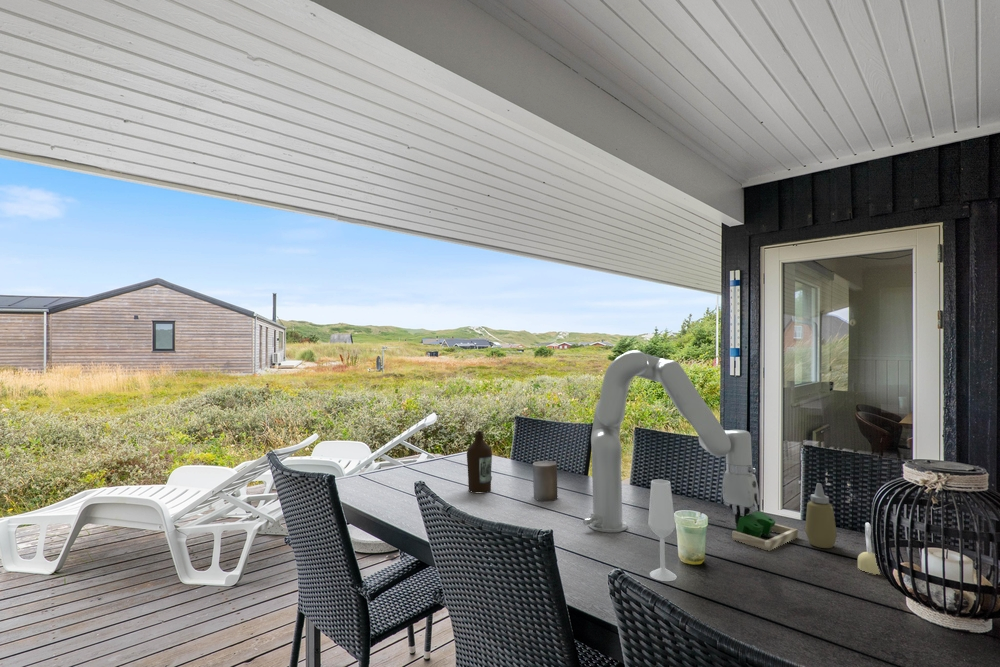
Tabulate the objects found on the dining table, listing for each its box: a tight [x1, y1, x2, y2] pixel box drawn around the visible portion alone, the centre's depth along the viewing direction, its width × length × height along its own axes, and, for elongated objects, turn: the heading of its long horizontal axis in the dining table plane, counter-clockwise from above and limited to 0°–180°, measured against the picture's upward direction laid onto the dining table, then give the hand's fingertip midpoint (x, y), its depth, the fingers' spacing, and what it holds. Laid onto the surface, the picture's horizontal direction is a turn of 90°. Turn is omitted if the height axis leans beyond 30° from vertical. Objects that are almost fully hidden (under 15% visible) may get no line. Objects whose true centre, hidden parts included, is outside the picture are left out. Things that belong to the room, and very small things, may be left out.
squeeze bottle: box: [804, 482, 838, 549], centre depth 150 cm, size 8×8×18 cm
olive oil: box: [466, 429, 493, 493], centre depth 214 cm, size 11×11×25 cm
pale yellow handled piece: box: [857, 522, 881, 575], centre depth 133 cm, size 6×5×12 cm
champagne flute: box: [647, 479, 677, 582], centre depth 131 cm, size 7×7×24 cm
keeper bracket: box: [731, 523, 799, 552], centre depth 155 cm, size 17×11×2 cm, turn 125°
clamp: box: [735, 510, 776, 539], centre depth 158 cm, size 12×6×9 cm, turn 118°
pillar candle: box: [532, 460, 559, 502], centre depth 202 cm, size 10×10×15 cm
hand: (741, 526), depth 162 cm, fingers closed
